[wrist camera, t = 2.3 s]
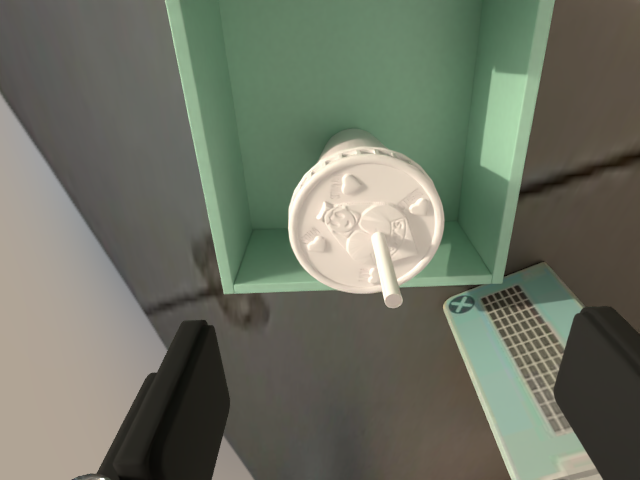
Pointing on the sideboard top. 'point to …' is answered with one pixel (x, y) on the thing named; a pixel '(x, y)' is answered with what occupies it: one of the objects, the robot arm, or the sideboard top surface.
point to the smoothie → (365, 217)
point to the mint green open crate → (359, 117)
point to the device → (522, 369)
